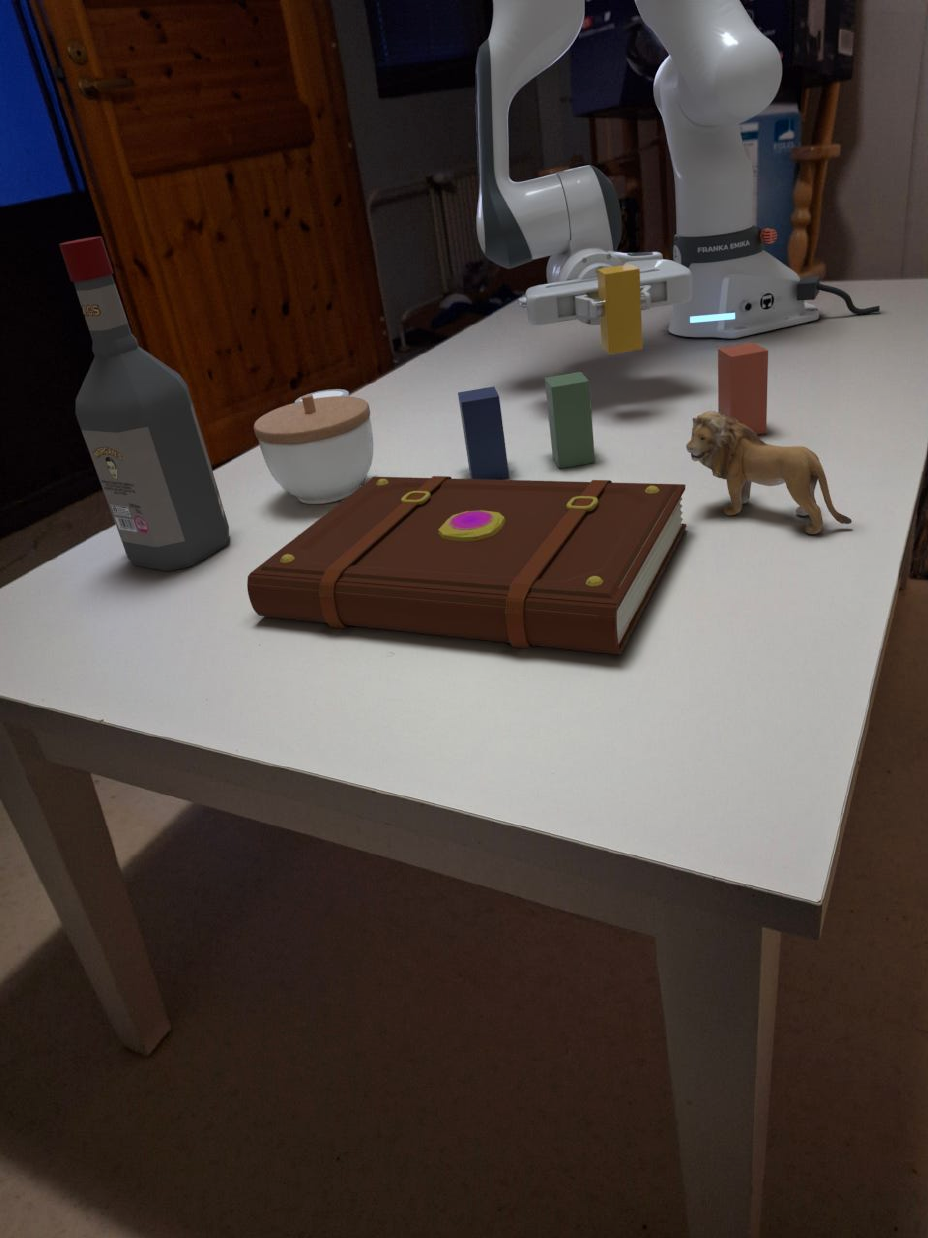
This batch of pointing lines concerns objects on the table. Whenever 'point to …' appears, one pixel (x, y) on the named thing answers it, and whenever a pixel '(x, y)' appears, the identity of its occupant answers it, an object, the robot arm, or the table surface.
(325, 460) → the lidded bowl
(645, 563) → the book
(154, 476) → the liquor
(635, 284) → the mustard block
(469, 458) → the navy block
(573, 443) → the sage block
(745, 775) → the table surface
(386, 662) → the table surface
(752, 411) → the terracotta block
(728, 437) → the lion figurine
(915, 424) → the table surface
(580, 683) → the table surface
